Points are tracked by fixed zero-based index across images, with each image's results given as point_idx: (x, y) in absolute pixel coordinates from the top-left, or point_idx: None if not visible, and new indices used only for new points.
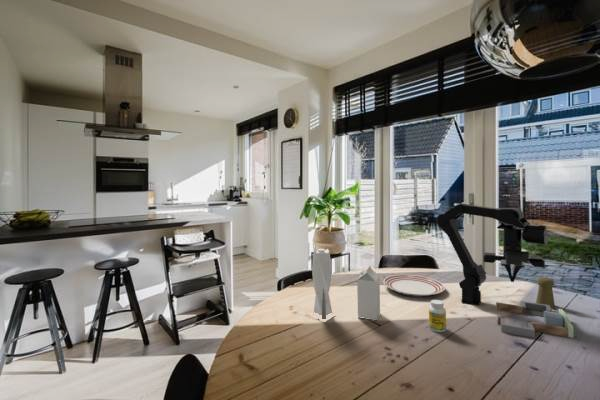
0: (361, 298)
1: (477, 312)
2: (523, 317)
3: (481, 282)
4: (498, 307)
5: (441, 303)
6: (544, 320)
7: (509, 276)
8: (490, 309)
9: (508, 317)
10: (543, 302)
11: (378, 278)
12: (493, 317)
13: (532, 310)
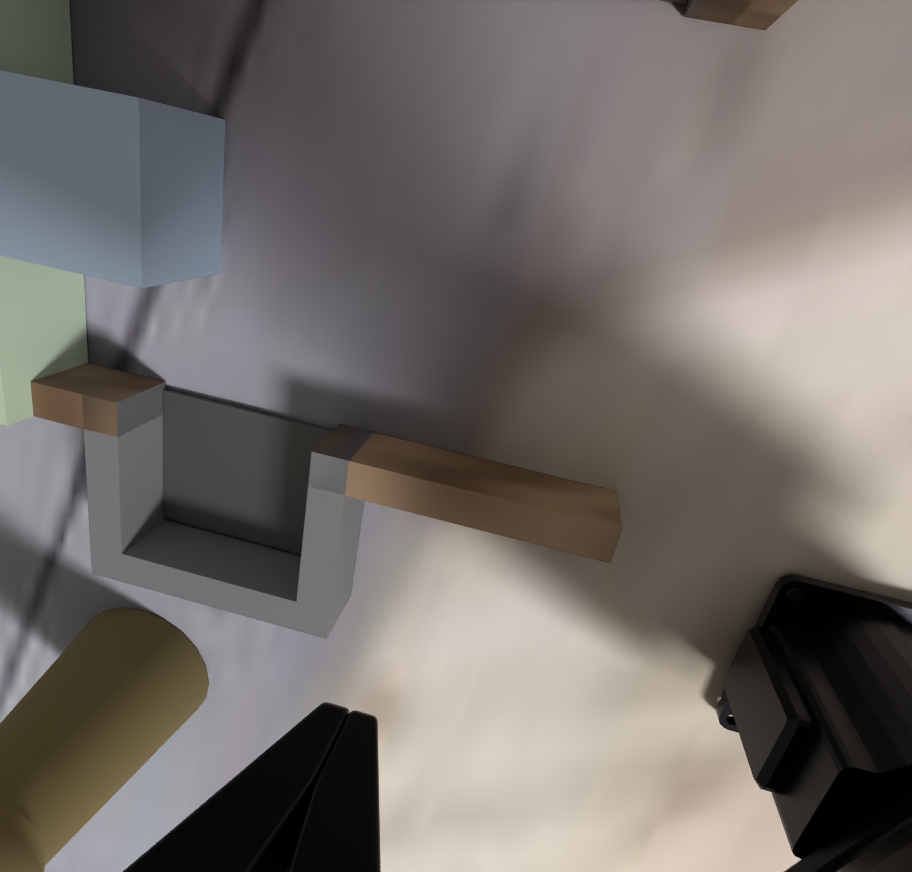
0: None
1: (902, 350)
2: (388, 329)
3: (893, 867)
4: (594, 499)
5: None
6: (204, 221)
7: (370, 852)
8: (683, 482)
9: (552, 282)
10: (135, 654)
11: None
12: (745, 228)
13: (264, 522)
